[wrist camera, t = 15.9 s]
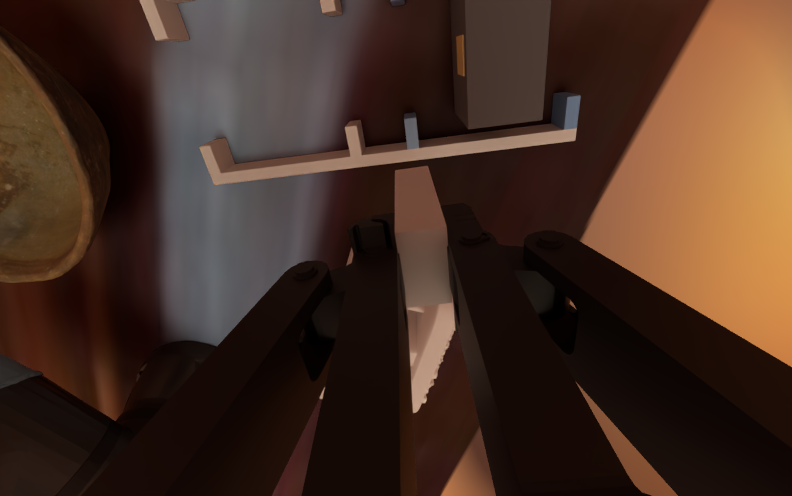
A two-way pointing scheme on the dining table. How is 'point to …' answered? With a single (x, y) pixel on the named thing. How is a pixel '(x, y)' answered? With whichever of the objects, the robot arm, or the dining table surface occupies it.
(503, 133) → the slotted rail
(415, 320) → the cable organizer
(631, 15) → the dining table surface
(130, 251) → the dining table surface
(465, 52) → the dark brown block
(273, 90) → the dining table surface
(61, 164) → the bowl
